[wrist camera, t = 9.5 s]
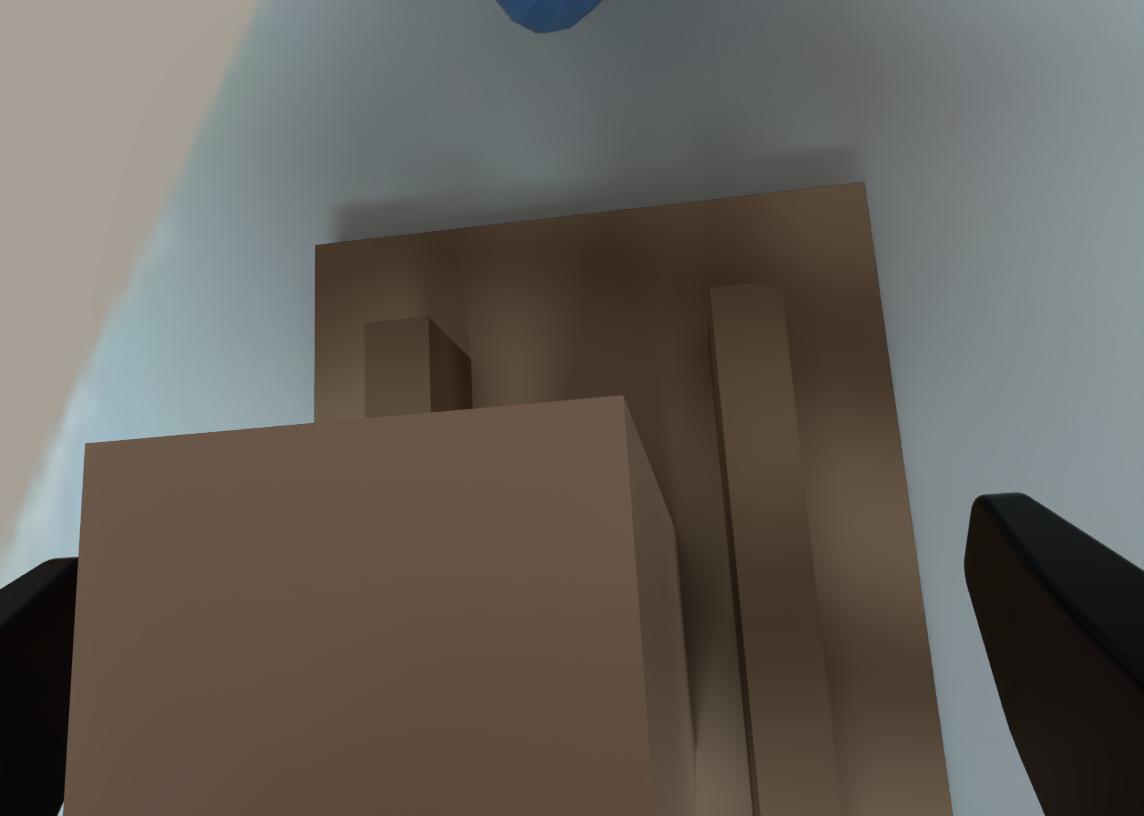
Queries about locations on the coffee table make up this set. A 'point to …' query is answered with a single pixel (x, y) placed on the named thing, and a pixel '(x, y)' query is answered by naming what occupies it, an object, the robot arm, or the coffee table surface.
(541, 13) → the grapes
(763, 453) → the walnut rack
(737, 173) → the coffee table surface
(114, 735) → the brown rectangular box
